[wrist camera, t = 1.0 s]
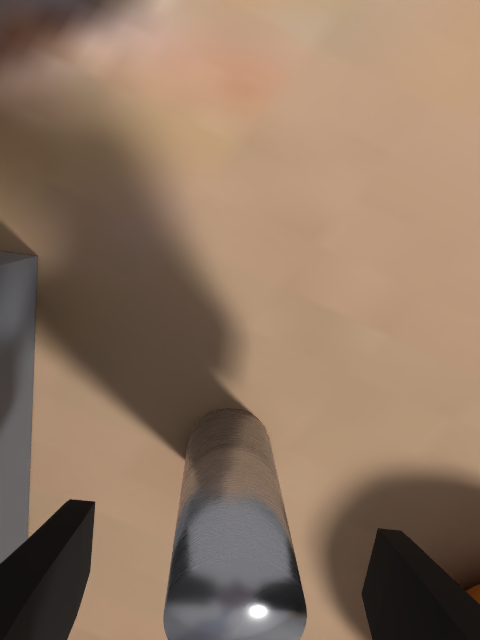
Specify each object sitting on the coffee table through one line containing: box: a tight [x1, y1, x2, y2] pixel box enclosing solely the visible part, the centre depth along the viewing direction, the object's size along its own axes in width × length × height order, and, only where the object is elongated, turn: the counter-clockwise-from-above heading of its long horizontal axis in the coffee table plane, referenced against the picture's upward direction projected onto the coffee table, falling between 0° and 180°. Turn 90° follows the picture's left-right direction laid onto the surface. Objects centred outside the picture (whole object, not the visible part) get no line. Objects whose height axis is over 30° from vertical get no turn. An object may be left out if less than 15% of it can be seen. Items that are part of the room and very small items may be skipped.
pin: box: [164, 409, 307, 640], centre depth 13 cm, size 3×3×7 cm
